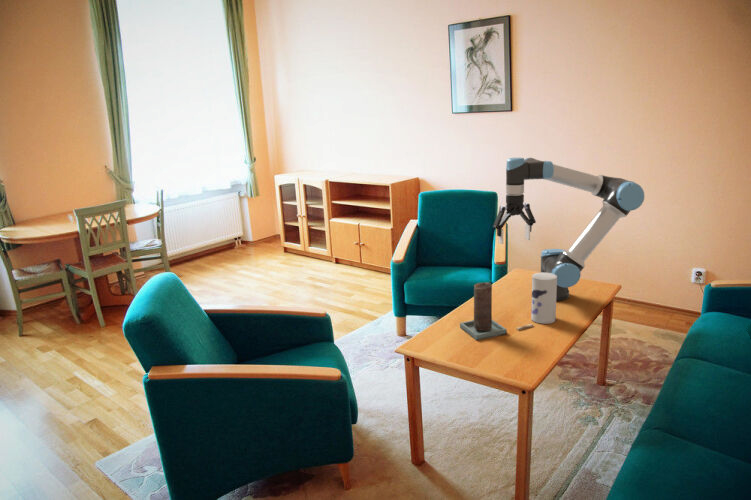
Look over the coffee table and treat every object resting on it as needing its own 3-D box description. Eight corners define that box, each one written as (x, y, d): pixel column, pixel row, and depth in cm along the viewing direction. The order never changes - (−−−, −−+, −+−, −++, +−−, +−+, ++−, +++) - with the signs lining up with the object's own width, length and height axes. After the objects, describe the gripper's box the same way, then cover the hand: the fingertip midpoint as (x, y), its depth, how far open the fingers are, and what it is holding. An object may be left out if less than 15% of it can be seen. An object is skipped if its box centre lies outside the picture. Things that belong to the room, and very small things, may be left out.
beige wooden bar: (531, 326, 222) (531, 323, 222) (533, 327, 221) (533, 324, 221) (516, 330, 219) (516, 327, 219) (518, 331, 218) (518, 328, 218)
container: (527, 320, 227) (528, 276, 222) (537, 313, 234) (538, 270, 229) (549, 326, 220) (550, 281, 215) (559, 318, 227) (561, 274, 222)
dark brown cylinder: (491, 333, 215) (491, 287, 210) (473, 332, 217) (473, 287, 211) (491, 325, 222) (491, 281, 217) (474, 325, 224) (473, 281, 219)
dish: (488, 321, 228) (488, 317, 228) (506, 334, 215) (506, 329, 215) (459, 327, 224) (459, 322, 223) (476, 340, 211) (476, 335, 211)
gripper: (534, 189, 235) (533, 235, 240) (485, 195, 227) (485, 243, 233) (544, 192, 228) (543, 239, 233) (494, 198, 220) (494, 246, 226)
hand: (514, 241), depth 233 cm, fingers open, 13 cm apart
